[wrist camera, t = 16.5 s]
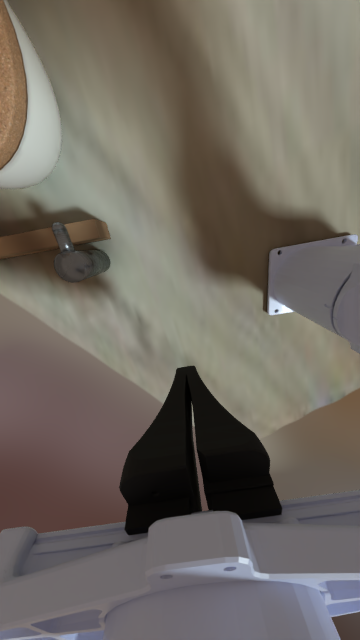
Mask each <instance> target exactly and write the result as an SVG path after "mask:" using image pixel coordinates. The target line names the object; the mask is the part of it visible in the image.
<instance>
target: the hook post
mask: <svg viewBox="0 0 360 640" xmlns="http://www.w3.org/2000/svg"><path fill="white" fill-rule="evenodd" d="M52 231H53V234H54V236H55V238H56V241H57V243H58V246H59V248H60V250H61V253H59V254H58V255H57V256H56V257H55V259H54V267H55V270H56V272H57V274H58V275H59V276H60V277H61V278H62V279H64V280H65V281H68V282H73V283H74V282H79V281H81V280H84V279H87V278H89V277H92V276H95V275H97V274H100V273H102V272H105V271H107V270H108V269H109V267H110V259H109V257H108V255H107V254H106V253H105V252H103V251H101V250H84V251H75V249H74V246H73V244H72V241H71V239H70V236H69V233H68V231H67V228H66V227H65V225H63V224H62V223H60V222H55V223H53V224H52Z"/></svg>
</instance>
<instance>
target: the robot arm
mask: <svg viewBox="0 0 360 640" xmlns="http://www.w3.org/2000/svg"><path fill="white" fill-rule="evenodd" d="M342 240H343V243H342ZM357 240H358V236H357V235H355V234H354V235H347V236H341V237H336V238H330V239H325V240H319V241H314V242H308V243H303V244H297V245H292V246H286V247H281V248H275V249H272V250H271V251H270V253H269V275H268V303H267V313H268V314H269V315H276V314H282V313H288V312H294V311H295V312H297V313H299V314H300V315H302V316H304V317H306V318H308V319H310V320H311V321H313V322H315V323H317V324H319V325H321V326H322V327H324V328H326V329H328V330H330V331H332V332H334V333H335V334H337V335H339V336H341V337H343V338H345V339H346V340H348V341H349V343H350V345H351V349H352V350H354V351H356V352H358V353H359V354H360V244H357ZM279 250H280V254H279V255H278V251H279ZM276 309H277V311H276V312H274V311H275V310H276ZM191 401H192V404H191ZM192 405H193V413H194V423H195V434H196V446H197V453H198V458H199V462H200V467H201V472H202V477H203V484H204V492H205V496H206V500H207V505H208V509H209V511H202V507H201V499H200V491H199V483H198V476H197V467H196V459H195V451H194V442H193V432H192ZM269 467H270V458H269V456H268V453H267V452H266V450H265V448H264V446H263V445H262V443H261V442H260V440H259V439H258V437H257V436H256V434H255V433H254V432H252V431H251V430H250V429H248V428H247V427H246V426H244V425H243V424H242V423H241V422H239V421H238V420H237V419H236V418H234V417H233V416H232V415H231V414H230V413H229V412H228V411H227V410H226V409H225V408H224V407H223V406H222V405H221V404H220V403H219V402H218V401H217V400H216V399H215V398H214V396H213V395H212V394H211V393H210V391H209V390H208V389H207V387H206V386H205V384H204V383H203V381H202V380H201V378H200V376H199V375H198V373H197V370H196V368H195V366H187V367H181V368H177V370H176V374H175V378H174V381H173V384H172V387H171V389H170V392H169V394H168V396H167V398H166V400H165V402H164V404H163V406H162V408H161V410H160V412H159V413H158V415H157V416H156V419H155V420H154V421H153V423H152V424H151V425H150V427H149V428H148V429H147V431H146V432H145V434H144V435H143V436H142V437H141V439H140V440H139V441H138V442H137V443H136V444H135V446H134V447H133V448H132V449H131V450H130V451H129V453H128V456H127V459H126V462H125V465H124V468H123V472H122V477H121V482H120V487H119V488H120V491H121V493H122V495H123V497H124V498H125V500H126V501H127V503H128V511H127V517H126V522H121V523H114V524H106V525H100V526H92V527H85V528H77V529H70V530H62V531H55V532H48V533H40V534H37V532H36V531H35V530H34V529H33V528H31V527H18V528H12V529H4V530H3V531H2V532H1V533H0V640H340V637H339V635H338V633H337V630H336V628H335V625H334V623H333V621H332V619H331V617H333V616H339V615H344V614H350V613H355V612H360V490H355V491H348V492H341V493H333V494H326V495H319V496H311V497H304V498H297V499H290V500H282V501H279V499H278V497H277V494H276V492H275V489H274V487H273V485H274V484H273V481H272V478H271V476H270V474H269V469H270V468H269Z"/></svg>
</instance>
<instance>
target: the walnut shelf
mask: <svg viewBox="0 0 360 640" xmlns="http://www.w3.org/2000/svg"><path fill="white" fill-rule="evenodd" d="M64 225H65V227H66V228H67V231H68V233H69V236H70V239H71V241H72V244H73V246H75V245H80V244H85V243H91V242H96V241H101V240H106V239H111V238H110V234H109V231H108V228H107V224H106V223H105V222H102V221H99V220H96V219H90V220H85V221H80V222H75V223H69V224H64ZM54 249H59V246H58V243H57V241H56V238H55V236H54V234H53V231H52V227H49V228H44V229H39V230H34V231H28V232H23V233H18V234H13V235H8V236H3V237H0V260H1V259H6V258H12V257H17V256H22V255H27V254H33V253H38V252H43V251H48V250H54Z"/></svg>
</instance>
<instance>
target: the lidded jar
mask: <svg viewBox="0 0 360 640" xmlns="http://www.w3.org/2000/svg"><path fill="white" fill-rule="evenodd" d="M61 147H62V124H61V117H60V112H59V108H58V104H57V101H56V97H55V94H54V91H53V88H52V85H51V83H50V80H49V77H48V75H47V73H46V71H45V69H44V66H43V64H42V62H41V60H40V58H39V56H38V54H37V52H36V50H35V48H34V46H33V44H32V42H31V40H30V38H29V37H28V35H27V33H26V31H25V30H24V28H23V26H22V24H21V23H20V21H19V19H18V18H17V16H16V14H15V13H14V11H13V10H12V8H11V6H10V5H9V3H8V2H7V0H0V189H24V188H27V187H31V186H34V185H37V184H39V183H41V182H42V181H44V180H45V179H46V178H47V177H48V176H49V175H50V174H51V173H52V171H53V170H54V169H55V167H56V165H57V163H58V160H59V157H60V153H61Z"/></svg>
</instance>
